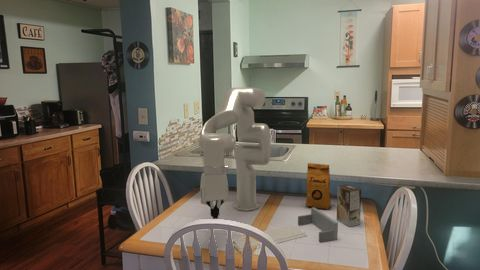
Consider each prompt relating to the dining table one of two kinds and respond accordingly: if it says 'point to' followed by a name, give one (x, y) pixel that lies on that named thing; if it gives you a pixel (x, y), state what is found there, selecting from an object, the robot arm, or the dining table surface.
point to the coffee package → (318, 186)
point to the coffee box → (348, 205)
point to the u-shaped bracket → (321, 224)
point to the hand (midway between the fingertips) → (214, 217)
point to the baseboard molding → (272, 236)
